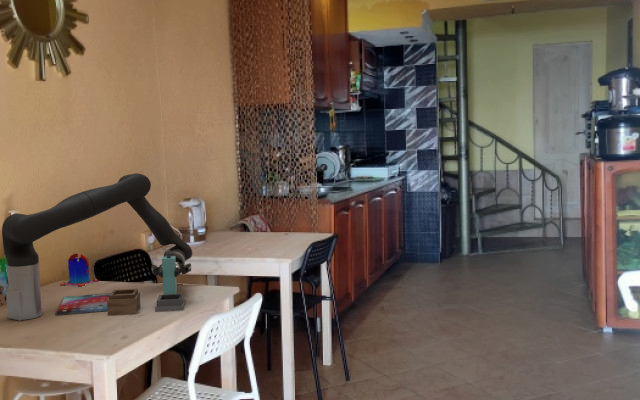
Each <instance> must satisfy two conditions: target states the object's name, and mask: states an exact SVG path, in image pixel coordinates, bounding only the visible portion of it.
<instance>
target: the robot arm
mask: <svg viewBox="0 0 640 400" xmlns="http://www.w3.org/2000/svg"><path fill="white" fill-rule="evenodd" d="M151 183H152V182H151V180H150V178H149V177H147V175H145V174H142V173H135V172H134V173H131V174H126V175H123V176H121V177H120V178H119V180H118V181H117V182H116V183H113V184H111V185H106V186H100V187H95V188H91V189H87V190H84V191H81V192H78V193H75V194H73V195H70V196H68V197H66V198H64V199H63V200H61V201H59V202H58V203H57V204H56V205H54V206H52V207H51V208H49V209H46V210H42V211H39V212H35V213H31V214H23V213H14V214H10V215H8V216H7V217H6V218H5V219H4V221H3V222H2V226H1V237H2V246H3V255H4V257H5V259H6V264H7V279H8V280H7V281H8V284H7V285H8V288H6V290H5V293H6V294H5V295H6V310H7V319H10V320H15V321H25V320H31V319H36V318H39V317H41V316H42V315H43V312H42V311H43V310H42V309H43V308H42V293H41V291H42V290H41V279H40V278H41V277H40V263H39V262H40V259H39V257H40V256H39V253H38V252H37V251H36V249H35V247H34V242H36V241H37V240H40V239H41V238H43V237H45V236H47V235H49V234H51V233H53V232H55V231H57V230H60V229H63V228H67V227H69V226H71V225H75V224H78V223H80V222H83V221H86V220H88V219H91V218H93V217H95V216H97V215H98V216H99V215H100V214H102V213H104V212H106V211H108V210H110V209H113V208H115V207H117V206H119V205H122V204H125V203H127V204H128V205H129V206H130V207H131V209H133V210H134V211H135V212H136V213H137V215H138V216H139V217H140V218H141V220H142V221H143V222H144V223H145V225H146V226H147V228H148V229H149V231H151V233H152V234H153V237H154V238H155V239H156V241H157V242H158V244H159V245H160V246H162V247H165V246H166V247H167V246H169V245H174V246H172V247H170V248H168V249H167V250H171V256H175V257H176V269H175V270H174V275H175V277H176V278H177V277H178V276H180V275H181V274H182V275H186V274H189V273H190V272H191V271H192V263H190V262H189V263H187V264H186V261H188V260H190V259H191V258H192V256H193V250H192V247H191V246H190V245H189V244H188V243H187V242H186V241H185V240H183V239H182V238H181V237H180V236H179V235H178V234H177V233H176V232H175V231H174V229H173V228H172V226H171V224H170V223H169V221H168V220H167V219H166V217H164V215H162V214H161V213H160V212H159V211H158V210H157V209H156V208H155V207H153V205H152V204H151V203H150V202H149V201H148V200H147V198H146V196H147V195H148V194H149V192H150V191H151V188H152V184H151ZM163 257H167V255H166V251H164V253H163ZM151 273H152V274H153V275H154V276H158V277H160V278H161V279H163V271H162V263H161V264H160V265H159V266H158V265H156V264H152V265H151Z"/></svg>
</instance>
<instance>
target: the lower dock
mask: <svg viewBox="0 0 640 400" xmlns="http://www.w3.org/2000/svg"><path fill="white" fill-rule="evenodd" d="M184 297H185V296H184V293H176V294H166V295H164V294H159V295H158V297H157V299H156V303H155V306H154V310H155V313H157V312H175V311H176V312H178V311H184V310H185V309H184V308H185V306H186V298H184Z"/></svg>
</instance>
